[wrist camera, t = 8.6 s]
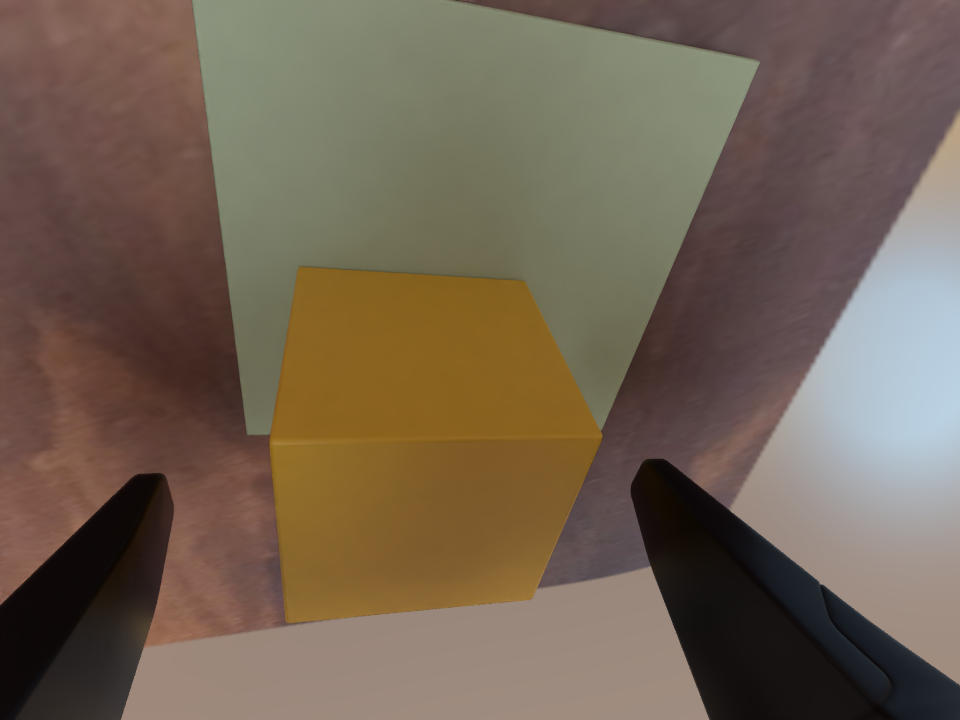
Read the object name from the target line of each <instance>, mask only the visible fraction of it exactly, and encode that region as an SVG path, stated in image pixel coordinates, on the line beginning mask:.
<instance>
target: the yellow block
mask: <svg viewBox="0 0 960 720" xmlns="http://www.w3.org/2000/svg"><path fill="white" fill-rule="evenodd" d="M601 441H602V433H601V431H600V429H599V427H598V425H597V423H596V421H595V419H594V417H593V415H592V413H591V411H590V409H589V407H588V405H587V403H586V401H585V399H584V397H583V395H582V393H581V391H580V389H579V387H578V385H577V383H576V381H575V379H574V377H573V375H572V373H571V371H570V369H569V367H568V365H567V363H566V361H565V359H564V357H563V355H562V353H561V351H560V349H559V347H558V345H557V343H556V341H555V340H554V338H553V336H552V334H551V332H550V330H549V328H548V326H547V324H546V322H545V320H544V318H543V316H542V314H541V312H540V310H539V308H538V306H537V304H536V302H535V300H534V298H533V296H532V294H531V292H530V290H529V288H528V286H527V284H526V282H525V281H518V280H503V279H487V278H471V277H455V276H439V275H423V274H407V273H391V272H375V271H360V270H344V269H328V268H312V267H299V268H298V270H297V275H296V281H295V288H294V294H293V300H292V306H291V312H290V318H289V324H288V330H287V336H286V342H285V348H284V354H283V360H282V366H281V372H280V378H279V384H278V390H277V396H276V402H275V408H274V414H273V420H272V427H271V433H270V439H269V448H270V458H271V469H272V480H273V491H274V502H275V513H276V523H277V534H278V545H279V556H280V567H281V577H282V588H283V599H284V610H285V620H286V622H287V623H297V622H307V621H318V620H328V619H338V618H348V617H359V616H369V615H379V614H389V613H398V612H410V611H420V610H430V609H441V608H451V607H461V606H471V605H480V604H481V605H482V604H492V603H502V602H512V601H523V600H530V599H532V598H533V596H534V594H535V591H536V589H537V587H538V584H539V582H540V580H541V578H542V575H543V573H544V571H545V569H546V566H547V564H548V562H549V559H550V557H551V555H552V553H553V550H554V548H555V546H556V543H557V541H558V539H559V537H560V534H561V532H562V530H563V527H564V525H565V523H566V521H567V518H568V516H569V514H570V512H571V509H572V507H573V505H574V502H575V500H576V498H577V496H578V493H579V491H580V489H581V486H582V484H583V482H584V480H585V477H586V475H587V473H588V470H589V468H590V466H591V464H592V461H593V459H594V457H595V455H596V452H597V450H598V448H599V445H600V443H601Z"/></svg>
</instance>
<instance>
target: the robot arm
mask: <svg viewBox="0 0 960 720" xmlns="http://www.w3.org/2000/svg"><path fill="white" fill-rule="evenodd" d="M631 497H632V501H633V504H634V508H635V512H636V515H637V519H638V523H639V526H640V530H641V534H642V537H643V541H644V545H645V549H646V552H647V555H648V559H649V562H650V565H651V568H652V571H653V573H654V576H655V579H656V581H657V584H658V586H659V589H660V592H661V594H662V597H663V599H664V602H665V605H666V607H667V610H668V612H669V615H670V618H671V620H672V623H673V626H674V628H675V631H676V633H677V636H678V639H679V641H680V644H681V646H682V649H683V651H684V654H685V657H686V659H687V662H688V665H689V667H690V670H691V672H692V675H693V678H694V680H695V683H696V686H697V688H698V691H699V693H700V696H701V698H702V701H703V704H704V706H705V709H706V712H707V714H708V717H709V720H960V685H959V684H957V683H956V682H954V681H953V680H952V679H950V678H949V677H947V676H946V675H945V674H943V673H942V672H940V671H939V670H937V669H936V668H935V667H933V666H931V665H930V664H929V663H928V662H926V661H925V660H923V659H922V658H920V657H919V656H918V655H916V654H915V653H913V652H912V651H911V650H909V649H908V648H906V647H905V646H903V645H902V644H901V643H899V642H898V641H896V640H895V639H893V638H892V637H891V636H889V635H888V634H887V633H885V632H884V631H883V630H881V629H880V628H879V627H877V626H876V625H874V624H873V623H872V622H870V621H869V620H867V619H866V618H865V617H864V616H862V615H861V614H860V613H858V612H857V611H856V610H854V609H853V608H852V607H851V606H849V605H848V604H847V603H846V602H844V601H843V600H842V599H840V598H839V597H838V596H837V595H835V594H834V593H833V592H831V591H830V590H829V589H828V588H827V587H825V586H824V585H820V583H819V581H817V580H816V579H815V578H814V577H813V576H811V575H810V574H809V573H808V572H806V571H805V570H804V569H803V568H801V567H800V566H799V565H797V564H796V563H795V562H794V561H792V560H791V559H790V558H789V557H787V556H786V555H785V554H784V553H782V552H781V551H780V550H779V549H777V548H776V547H775V546H774V545H772V544H771V543H770V542H769V541H767V540H766V539H765V538H764V537H762V536H761V535H760V534H758V533H757V532H756V531H755V530H753V529H752V528H751V527H750V526H748V525H747V524H746V523H745V522H743V521H742V520H741V519H740V518H738V517H737V516H736V515H735V514H733V513H732V512H731V511H730V510H728V509H727V508H726V507H725V506H723V505H722V504H721V503H720V502H718V501H717V500H716V499H715V498H713V497H712V496H711V495H710V494H708V493H707V492H706V491H704V490H703V489H702V488H701V487H699V486H698V485H697V484H696V483H694V482H693V481H692V480H691V479H689V478H688V477H687V476H686V475H684V474H683V473H682V472H681V471H679V470H678V469H677V468H676V467H674V466H673V465H672V464H671V463H669V462H668V461H666V460H665V459H646V460H645V461H643V463H642V464H641V466H640V468H639V470H638V472H637V474H636V476H635V478H634V480H633V482H632V484H631ZM173 514H174V505H173V500H172V497H171V493H170V489H169V486H168V482H167V479H166V477H165V475H164V474H162V473H144V474H137V475H135V476H134V477H132V478H131V479H130V480H129V481H128V482H127V483H126V484H125V485H124V486H123V487H122V488H121V489H120V490H119V491H118V492H117V493H116V494H115V495H113V496H112V497H111V498H110V499H109V500H108V501H107V502H106V503H105V504H104V505H103V506H102V507H101V508H100V509H99V510H98V511H97V512H96V513H95V514H94V515H93V516H92V517H91V518H90V519H89V520H88V521H87V522H86V523H85V524H84V525H83V526H81V527H80V528H79V529H78V530H77V531H76V532H75V533H74V534H73V535H72V536H71V537H70V538H69V539H68V540H67V541H66V542H65V543H64V544H63V545H62V546H61V547H60V548H59V549H58V550H57V551H56V552H55V553H54V554H53V555H52V556H50V557H49V558H48V559H47V560H46V561H45V562H44V563H43V564H42V565H41V566H40V567H39V568H38V569H37V570H36V571H35V572H34V573H33V574H32V575H31V576H30V577H29V578H28V579H27V580H26V581H25V582H24V583H23V584H22V585H21V586H20V587H18V588H17V589H16V590H15V591H14V592H13V593H12V594H11V595H10V596H9V597H8V598H7V599H6V600H5V601H4V602H3V603H2V604H1V605H0V720H121V717H122V714H123V711H124V708H125V705H126V701H127V698H128V695H129V692H130V689H131V685H132V682H133V679H134V676H135V673H136V670H137V666H138V663H139V660H140V657H141V654H142V651H143V647H144V644H145V641H146V638H147V635H148V631H149V628H150V625H151V622H152V619H153V615H154V612H155V608H156V604H157V600H158V595H159V590H160V585H161V579H162V574H163V569H164V563H165V558H166V553H167V547H168V542H169V537H170V531H171V526H172V521H173Z"/></svg>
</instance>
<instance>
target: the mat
mask: <svg viewBox="0 0 960 720" xmlns="http://www.w3.org/2000/svg"><path fill="white" fill-rule="evenodd" d="M192 6H193V14H194V22H195V29H196V37H197V45H198V53H199V61H200V69H201V77H202V84H203V92H204V100H205V108H206V116H207V124H208V132H209V139H210V147H211V155H212V163H213V171H214V179H215V187H216V194H217V202H218V210H219V218H220V226H221V234H222V242H223V250H224V257H225V265H226V273H227V281H228V289H229V297H230V305H231V312H232V320H233V328H234V336H235V344H236V352H237V360H238V367H239V375H240V383H241V391H242V399H243V407H244V415H245V422H246V430H247V435H270V433H271V427H272V420H273V414H274V408H275V402H276V396H277V390H278V384H279V378H280V372H281V366H282V360H283V354H284V348H285V342H286V336H287V330H288V324H289V318H290V312H291V306H292V300H293V294H294V288H295V281H296V275H297V270H298V268H299V267H312V268H328V269H344V270H360V271H375V272H391V273H407V274H423V275H439V276H455V277H471V278H487V279H503V280H518V281H525V282H526V284H527V286H528V288H529V290H530V292H531V294H532V296H533V298H534V300H535V302H536V304H537V306H538V308H539V310H540V312H541V314H542V316H543V318H544V320H545V322H546V324H547V326H548V328H549V330H550V332H551V334H552V336H553V338H554V340H555V341H556V343H557V345H558V347H559V349H560V351H561V353H562V355H563V357H564V359H565V361H566V363H567V365H568V367H569V369H570V371H571V373H572V375H573V377H574V379H575V381H576V383H577V385H578V387H579V389H580V391H581V393H582V395H583V397H584V399H585V401H586V403H587V405H588V407H589V409H590V411H591V413H592V415H593V417H594V419H595V421H596V423H597V425H598V427H599V429H600V430H602V428H603V426H604V423H605V421H606V419H607V416H608V414H609V412H610V409H611V407H612V405H613V403H614V400H615V398H616V396H617V393H618V391H619V389H620V386H621V384H622V382H623V379H624V377H625V375H626V372H627V370H628V368H629V365H630V363H631V361H632V358H633V356H634V354H635V351H636V349H637V347H638V344H639V342H640V340H641V337H642V335H643V333H644V330H645V328H646V326H647V324H648V321H649V319H650V317H651V314H652V312H653V310H654V307H655V305H656V303H657V300H658V298H659V296H660V293H661V291H662V289H663V286H664V284H665V282H666V279H667V277H668V275H669V272H670V270H671V268H672V265H673V263H674V261H675V258H676V256H677V254H678V251H679V249H680V247H681V245H682V242H683V240H684V238H685V235H686V233H687V231H688V228H689V226H690V224H691V221H692V219H693V217H694V214H695V212H696V210H697V207H698V205H699V203H700V200H701V198H702V196H703V193H704V191H705V189H706V186H707V184H708V182H709V179H710V177H711V175H712V172H713V170H714V168H715V166H716V163H717V161H718V159H719V156H720V154H721V152H722V149H723V147H724V145H725V142H726V140H727V138H728V135H729V133H730V131H731V128H732V126H733V124H734V121H735V119H736V117H737V114H738V112H739V110H740V107H741V105H742V103H743V100H744V98H745V96H746V93H747V91H748V89H749V87H750V84H751V82H752V80H753V77H754V75H755V73H756V70H757V68H758V66H759V61H758V60H754V59H751V58H747V57H742V56H737V55H732V54H727V53H722V52H717V51H712V50H707V49H701V48H696V47H691V46H686V45H681V44H676V43H671V42H666V41H661V40H656V39H650V38H645V37H640V36H635V35H630V34H625V33H620V32H615V31H610V30H605V29H599V28H594V27H589V26H584V25H579V24H574V23H569V22H564V21H559V20H554V19H548V18H543V17H538V16H533V15H528V14H523V13H518V12H513V11H508V10H502V9H497V8H492V7H487V6H482V5H477V4H472V3H467V2H462V1H457V0H192Z"/></svg>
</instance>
